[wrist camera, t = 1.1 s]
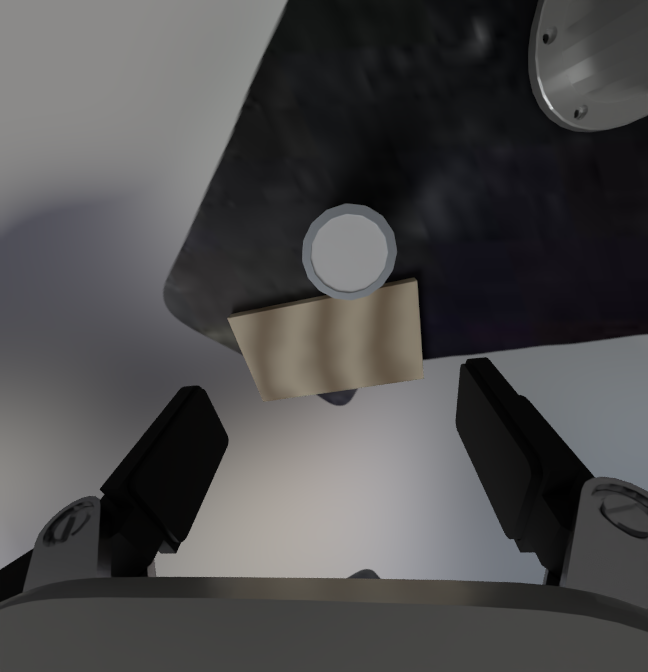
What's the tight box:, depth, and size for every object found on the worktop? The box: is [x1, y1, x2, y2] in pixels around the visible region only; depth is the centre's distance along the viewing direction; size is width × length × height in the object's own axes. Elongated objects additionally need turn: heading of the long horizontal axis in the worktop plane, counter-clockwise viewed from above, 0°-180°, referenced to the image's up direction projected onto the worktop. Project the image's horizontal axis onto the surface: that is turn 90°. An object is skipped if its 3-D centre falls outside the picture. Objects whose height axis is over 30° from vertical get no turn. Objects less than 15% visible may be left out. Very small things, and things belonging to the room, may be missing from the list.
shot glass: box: [302, 204, 397, 300], centre depth 22 cm, size 7×7×7 cm
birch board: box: [227, 278, 424, 402], centre depth 31 cm, size 20×12×1 cm, turn 103°
